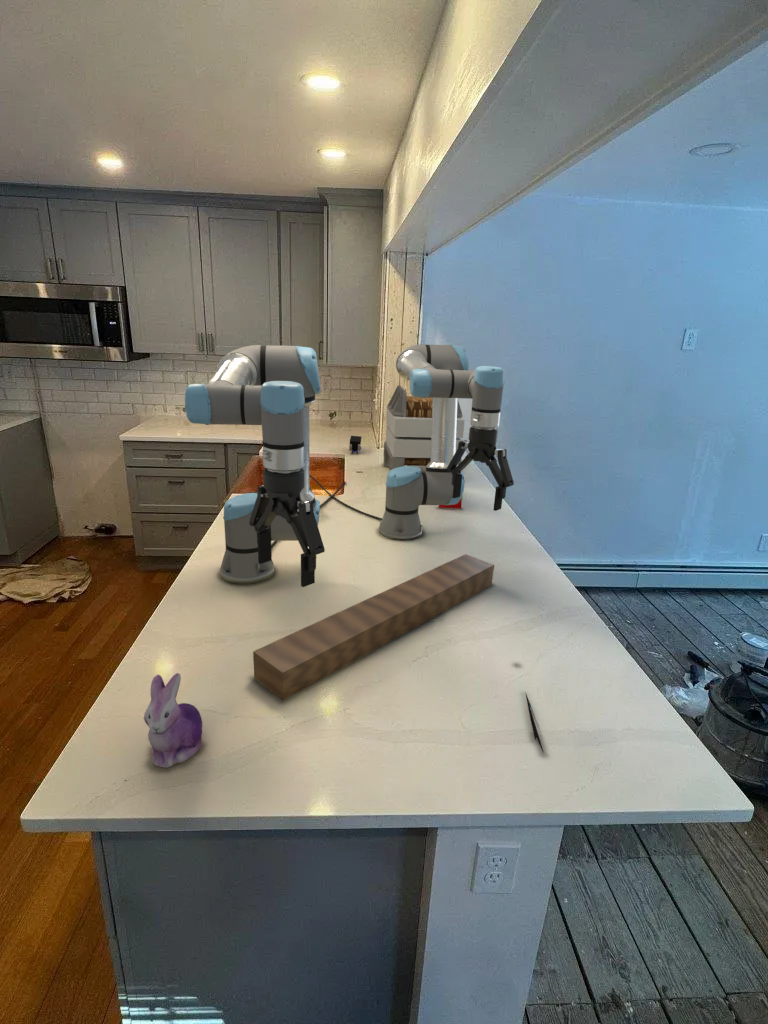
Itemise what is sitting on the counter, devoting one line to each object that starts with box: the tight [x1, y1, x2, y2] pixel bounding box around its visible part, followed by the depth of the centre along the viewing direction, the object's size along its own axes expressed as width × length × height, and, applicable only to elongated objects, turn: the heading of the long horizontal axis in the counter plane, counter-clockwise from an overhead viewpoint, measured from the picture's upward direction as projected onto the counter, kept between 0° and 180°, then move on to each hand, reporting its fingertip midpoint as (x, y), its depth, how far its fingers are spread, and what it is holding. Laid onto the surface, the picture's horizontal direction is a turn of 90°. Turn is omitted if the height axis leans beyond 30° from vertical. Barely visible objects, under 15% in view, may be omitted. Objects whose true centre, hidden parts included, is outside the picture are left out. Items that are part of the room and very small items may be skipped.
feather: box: [525, 691, 547, 753], centre depth 115 cm, size 2×28×2 cm
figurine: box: [143, 672, 203, 768], centre depth 97 cm, size 9×10×15 cm
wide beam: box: [252, 553, 495, 701], centre depth 141 cm, size 75×10×7 cm, turn 137°
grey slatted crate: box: [383, 384, 465, 471], centre depth 268 cm, size 34×33×41 cm
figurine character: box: [348, 435, 363, 455], centre depth 309 cm, size 7×8×15 cm
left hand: (285, 572), depth 111 cm, fingers open, 13 cm apart
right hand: (476, 503), depth 157 cm, fingers open, 13 cm apart
